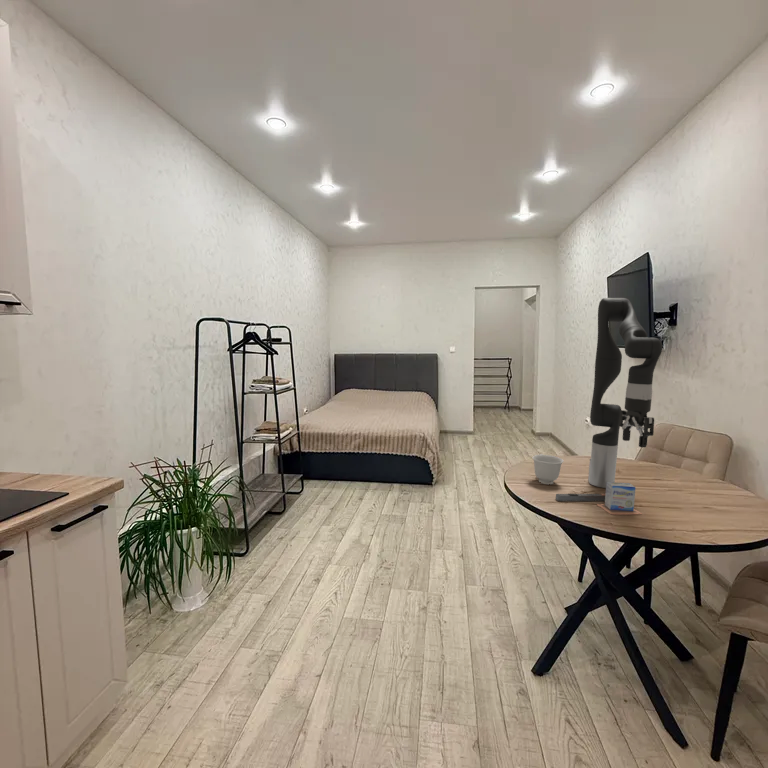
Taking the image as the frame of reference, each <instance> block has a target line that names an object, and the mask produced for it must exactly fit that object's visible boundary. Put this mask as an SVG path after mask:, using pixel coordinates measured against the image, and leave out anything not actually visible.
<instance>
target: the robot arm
mask: <svg viewBox="0 0 768 768" xmlns="http://www.w3.org/2000/svg"><path fill="white" fill-rule="evenodd" d="M610 322H612V323H614V322H616V323H617V322H620V325H619V327H618V329H619V330H618V331H619V335H620V337H621V338H622V340H623V342H624V354H625V356H627V357H629V358H631V359H641V360H642V359H644V361H643V362H642V363H641V364H637V365H632V366H630V367H629V369H628V378H627V385H626V389H625V390H626V391H625V398H624V399H625V400H624V410H622V408H621V406H620V405H618V404H612V403H602V399H603V397H604V395H605V393H606V392H607V390H608V389H609V388H610V387H611V386H612V384H613V383H614V382H615V381H616V379H617V378H618V376H620V373H621V371H622V360H623V355H622V351H621V350H620V348H619V346H618V345H617V343H616V341H615V340H614V337H613V336H612V334H611V330H610ZM662 352H663V343H662V340H660V339H659V338H657V337H648V333H647V332H646V330H645V329H644V327H643V326H642V324H641V323H640V322H639V321H638V318H637V314H636V311H635V309H634V307H633V304H632V302H631V300H629V299H628V298H626V297H603V298H601V299H600V301H599V304H598V308H597V343H596V354H595V363H594V380H593V381H594V382H593V383H594V384H593V391H592V392H593V393H592V399H591V407H590V414H589V415H590V416H589V417H590V418H589V419H590V424H591V425H592V426H594V427H595V426H596V427H602V428H603V427H605V428H609V429H608V430H606V431H603V432H599V433H595V434H593V435H592V437H591V438H592V440H591V441H592V442H591V453H590V458H589V465H588V480H587V481H588V483H589V484H590V485H592V486H595V487H597V488H602V489H603V488H604V489H606V482H614V483H616V482H615V481H616V471H617V462H618V461H617V460H618V449H619V447H618V446H619V435H620V428H621V429H622V440H623V441H624V442H627V441H628V442H629V441H630V440H631V430H632V428H633V427H634V428H636V430H637V431H638V433H639V437H638V438H639V440H638V447H640V448H647V446H648V438H649V437H652V436H654V432H655V431H654V430H655V417H653V416H652V417H649V416H648V413H649V412H651V408H652V397H653V379H654V372H655V369H656V366H657V363H658V361H659V359H660V357H661V354H662Z"/></svg>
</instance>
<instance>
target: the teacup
mask: <svg viewBox="0 0 768 768" xmlns="http://www.w3.org/2000/svg"><path fill="white" fill-rule="evenodd" d="M531 458H532V460H533V464H534V465H533V469H534V474H535V477H536V478H537V479H538V482H539V483H540V482H541V483H540V484H542V485H549V484H550V485H554V481H557V479H558V478H559V477H560V472H561V468H562V467H561V466H562V464H564V459H563V458H561V457H558V456H555V455H552V454H551V455H550V454H543V453H539V454H535V455H533V456H532V457H531Z"/></svg>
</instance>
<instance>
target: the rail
mask: <svg viewBox="0 0 768 768" xmlns="http://www.w3.org/2000/svg"><path fill="white" fill-rule="evenodd" d="M605 495H606V493H555V500H556V501H558V502H605Z"/></svg>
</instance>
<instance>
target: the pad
mask: <svg viewBox="0 0 768 768" xmlns="http://www.w3.org/2000/svg"><path fill="white" fill-rule="evenodd" d="M596 506H598V507H599V508H600V509H602V510H603V511H605V512H606V513H607V514H609V515H643V513H642V512H640V511H639V510H637V509H635V508H634V510H633V511H621V510H610V509H609V508H608V507H607V506H605V503H596Z"/></svg>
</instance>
